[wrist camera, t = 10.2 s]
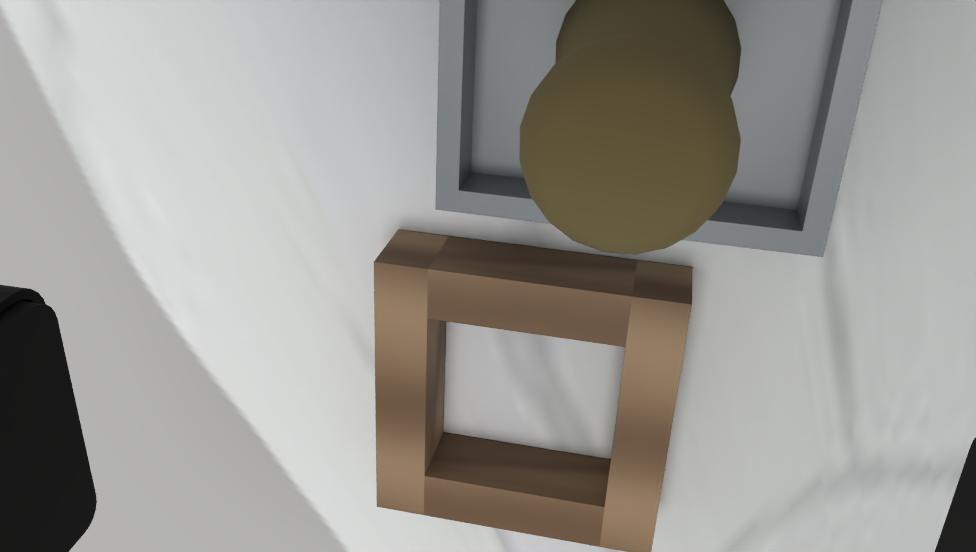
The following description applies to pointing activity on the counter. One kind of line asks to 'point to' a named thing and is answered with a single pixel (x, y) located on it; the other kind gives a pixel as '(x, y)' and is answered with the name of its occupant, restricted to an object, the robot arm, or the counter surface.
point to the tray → (756, 97)
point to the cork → (635, 122)
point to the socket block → (538, 310)
